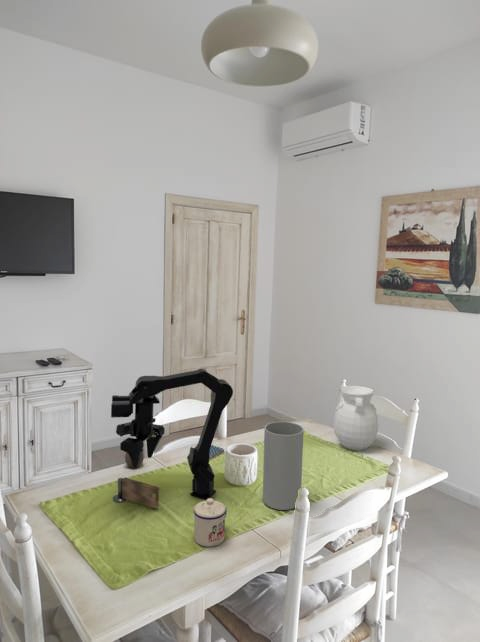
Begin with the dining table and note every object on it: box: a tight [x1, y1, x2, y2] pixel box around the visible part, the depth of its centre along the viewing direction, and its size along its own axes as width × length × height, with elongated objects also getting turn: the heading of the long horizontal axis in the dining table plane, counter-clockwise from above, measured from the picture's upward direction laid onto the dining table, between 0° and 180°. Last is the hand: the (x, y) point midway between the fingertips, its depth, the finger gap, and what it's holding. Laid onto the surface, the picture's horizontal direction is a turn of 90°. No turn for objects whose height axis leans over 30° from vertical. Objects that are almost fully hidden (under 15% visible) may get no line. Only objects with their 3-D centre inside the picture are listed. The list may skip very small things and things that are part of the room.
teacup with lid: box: [193, 497, 228, 547], centre depth 138 cm, size 12×9×12 cm
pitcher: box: [333, 385, 379, 451], centre depth 205 cm, size 19×18×25 cm
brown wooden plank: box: [122, 477, 160, 509], centre depth 154 cm, size 14×2×6 cm, turn 63°
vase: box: [124, 452, 145, 469], centre depth 183 cm, size 7×7×9 cm
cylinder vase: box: [262, 421, 305, 511], centre depth 157 cm, size 12×12×25 cm
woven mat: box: [209, 444, 225, 461], centre depth 196 cm, size 10×11×2 cm
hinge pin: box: [112, 477, 128, 504], centre depth 158 cm, size 5×5×7 cm
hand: (142, 462), depth 156 cm, fingers open, 9 cm apart
